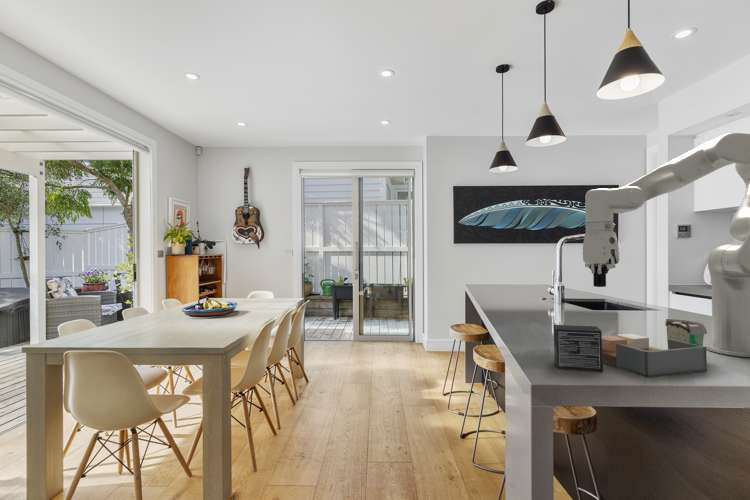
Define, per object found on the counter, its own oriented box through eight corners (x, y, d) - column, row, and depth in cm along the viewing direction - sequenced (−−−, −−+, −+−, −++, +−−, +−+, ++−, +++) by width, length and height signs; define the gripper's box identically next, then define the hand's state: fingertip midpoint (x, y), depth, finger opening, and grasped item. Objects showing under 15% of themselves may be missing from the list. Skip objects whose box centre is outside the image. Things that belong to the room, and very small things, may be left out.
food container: (719, 366, 96) (718, 327, 96) (692, 365, 97) (691, 327, 97) (689, 353, 108) (689, 319, 108) (665, 352, 110) (664, 318, 110)
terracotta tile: (610, 345, 109) (610, 335, 109) (627, 350, 103) (626, 339, 103) (594, 346, 107) (594, 336, 107) (610, 351, 102) (610, 340, 102)
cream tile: (631, 343, 110) (631, 333, 110) (649, 348, 105) (648, 337, 105) (616, 345, 109) (615, 334, 109) (632, 349, 104) (632, 339, 104)
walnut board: (628, 348, 114) (628, 340, 114) (670, 360, 101) (670, 351, 101) (578, 353, 110) (577, 344, 110) (615, 366, 97) (615, 356, 97)
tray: (671, 361, 101) (670, 339, 101) (706, 371, 93) (706, 347, 93) (616, 366, 97) (615, 343, 97) (647, 377, 88) (647, 352, 89)
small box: (597, 365, 99) (597, 325, 99) (603, 372, 93) (603, 330, 93) (553, 361, 102) (553, 323, 102) (556, 368, 96) (556, 328, 96)
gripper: (630, 227, 111) (630, 288, 111) (590, 229, 126) (591, 284, 126) (609, 226, 110) (609, 289, 110) (571, 229, 124) (572, 284, 124)
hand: (599, 286), depth 118 cm, fingers closed
